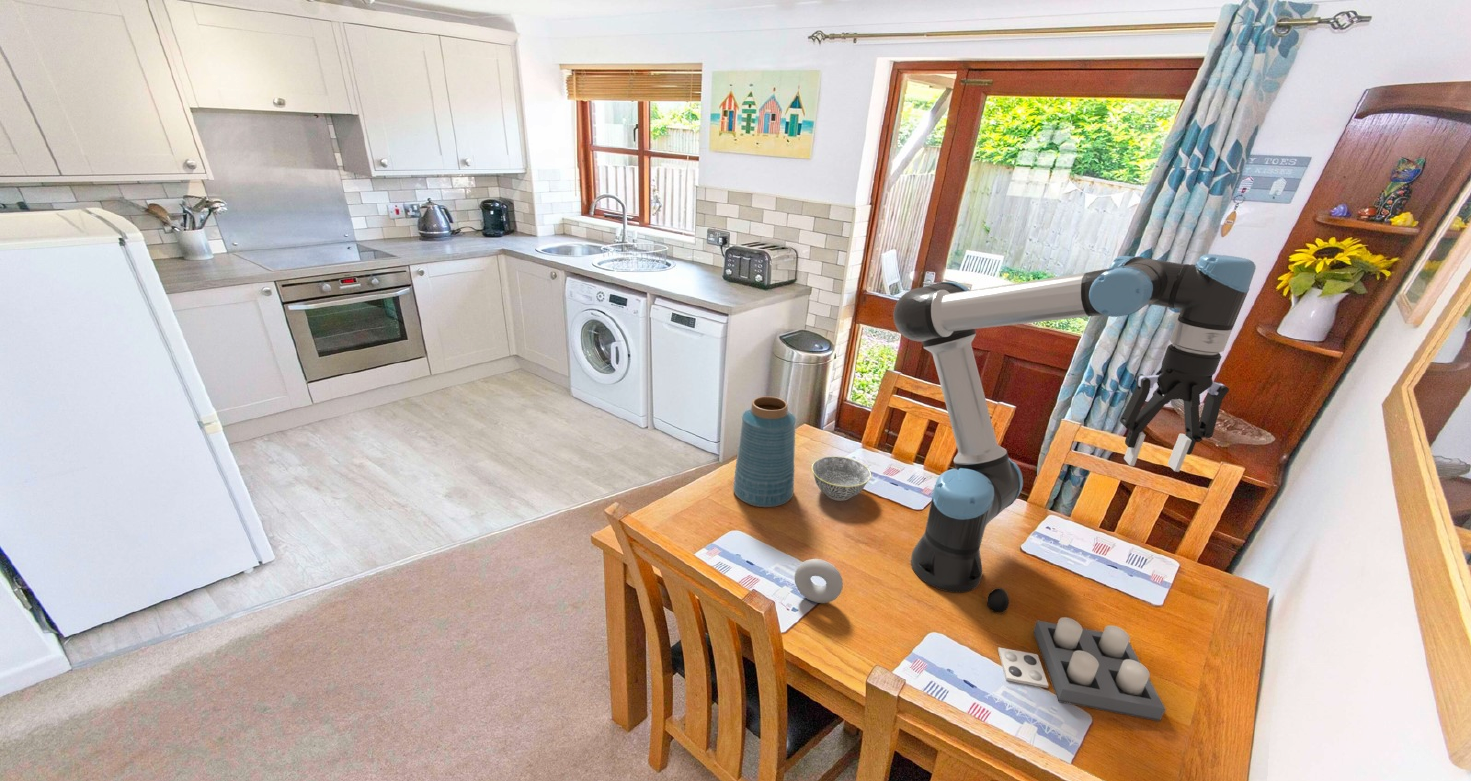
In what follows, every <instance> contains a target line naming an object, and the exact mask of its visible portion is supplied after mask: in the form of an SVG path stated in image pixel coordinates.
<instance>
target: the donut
mask: <svg viewBox="0 0 1471 781" xmlns="http://www.w3.org/2000/svg"><path fill="white" fill-rule="evenodd" d="M812 577H819V578H821V579H823V581H824V582H825V583H826V584H824V585H818V584H816V583H814V582H813V581H812ZM794 583H795V587H796V588H797V590H798V592H799V593H800V594H801V595H802V596H803V597H804V598H806V599H807V600H809V601H811V602H813V603H817V604H818V603H819V604H827V603H831V602H833V601H835V600H836V599H837V598H839V597H840V595H841V593H842V590H843V587H844V586H843V585H844V584H843V577H842V575H841V573H840V571H839V570H838V569H837V568H836V566H834V564H832V563H830V562H829V561H826V560H824V559H820V558H812V559H811V558H810V559H807V560H805V561H802V562H801V563H800V564H799V565H798V566H797V568H796V569H795V573H794Z"/></svg>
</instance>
